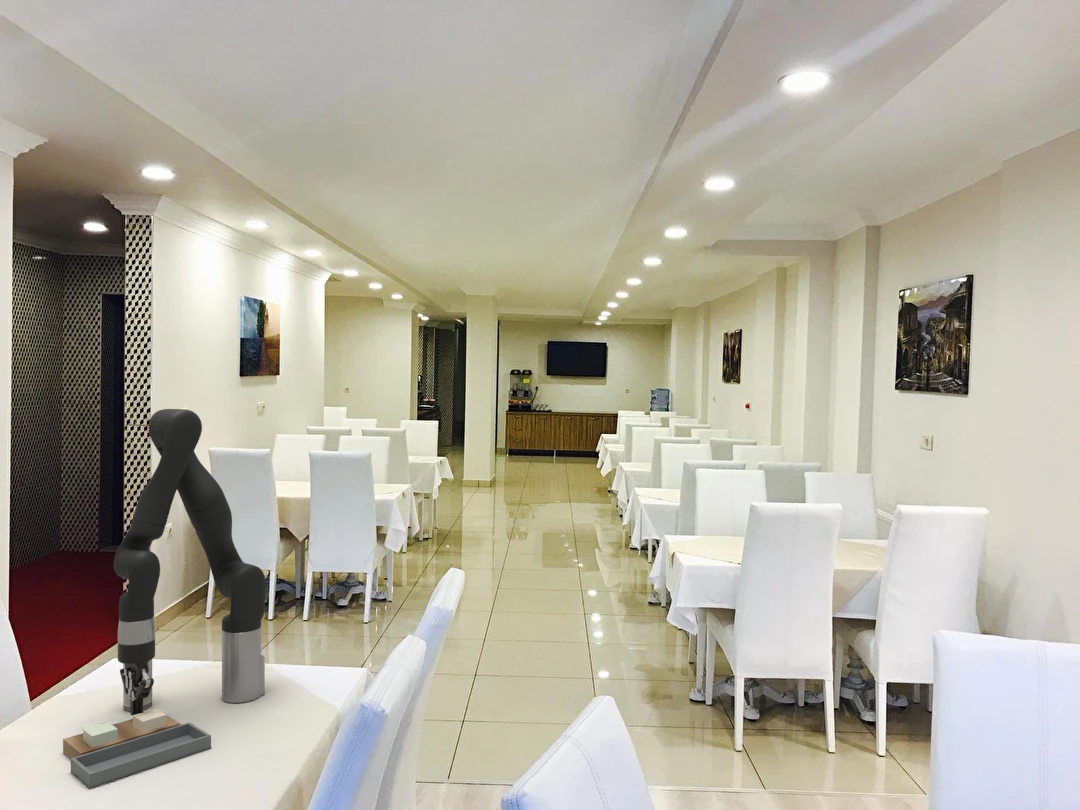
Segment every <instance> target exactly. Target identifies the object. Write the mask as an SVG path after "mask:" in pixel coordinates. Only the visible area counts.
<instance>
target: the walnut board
mask: <svg viewBox="0 0 1080 810" xmlns="http://www.w3.org/2000/svg"><path fill="white" fill-rule="evenodd" d="M112 725H113V726H115V727H116V728H117V729H118V740H117V741H113V742H110V743H107V744H104V745H100V746H97V747H94V748H92V747H90V746H89V745H88V744H87V743H85V742H84V741H83V732H82V733H79V734H77V735H73V736H68V737H65V738H63V739H62V753H63V755H64V756H65V757H67V758H68V759H69V760H71V758H74V757H77V756H80V755H84V754H87V753H90V752H94V751H97V750H100V749H103V748H107V747H110V746H113V745H117V744H120V743H123V742H126V741H130V740H133V739H136V738H140V737H143V736H146V735H149V734H153V733H156V732H159V731H163V730H166V729H169V728H172V727H176V726H179V725H180V723H179V722H178V721H177V720H175V719H173V718H171V716H168V715H166V726H163V727H160V728H157V729H153V730H150V731H147V732H143V733H142V732H141V731H139V730H138V729H136V728H135V727H133V718H131V719H127V720H124V721H122V722H117V723H114V724H112Z"/></svg>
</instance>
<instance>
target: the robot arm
mask: <svg viewBox="0 0 1080 810" xmlns="http://www.w3.org/2000/svg"><path fill="white" fill-rule="evenodd" d="M147 428H148V434H149V437H150V440H151V441H152V443H153V445H154V447H155V449H156V451H157V452H158V454H159V456H160V460H159V462H158V465H157V467H156V468H155V471H154V472H153V474H152V476H151V477H150V479H149V480H148V482H147V484H146V485H145V486H144V488H143V490H142V492H141V494H140V496H139V498H138V500H137V503H136V507H135V509H134V513H133V516H132V519H131V523H130V527H129V529H128V531H127V532H126V534H125V535H124V537H123V539H122V541H121V543H120V544H119V546H118V548H117V550H116V553H115V555H114V560H113V570H114V572H115V574H116V576H118V577H119V578H121V579H124V580H128V585H127V590H126V591H125V592H124V593H123V594H121V595H120V597H119V604H118V627H117V661H118V662H119V663H120V664H125V668H124V669H123V668H120V669H119V674H120V676H121V677H120V678H121V681H122V685H123V686H124V689H125V693H126V694H128V697H129V699H130V711H129V715H130V716H132V717H133V715H136V714H139V713H143V712H144V710H143V698H146V697H148V696H149V693H150V691H151V688H152V689H153V686H154V685H155V684H154V683H155V680H154V678H153V677H152V678H151V679H149V677H148V675H149V667H148V662H149V660H151V659H152V660H153V659H154V658H155V657H156V622H155V595H156V592H157V589H158V585H159V579H160V576H161V564H160V563H161V562H160V559H159V557H158V555H156V553H154V552H153V551H150V550H149V549H150V548H151V546H152V543H153V541H155V540H159V539H160V538H162V536H163V534H164V532H165V529H166V526H167V522H168V518H169V514H170V511H171V507H172V505H173V502H174V498H175V495H176V494H177V493H176V492H178V495H179V497H180V499H181V501H182V504H183V507H184V510H185V511H186V514H187V517H188V518H189V521H190V524H191V525H192V528H193V529H194V531H195V533H196V535H197V538H198V540H199V542H200V544H201V547H202V549H203V552H204V554H205V555H206V559H207V561H208V564H209V568H210V570H211V571H210V572H211V575H212V577H213V581H214V584H215V586H216V589H217V591H218V592H219V594H220V595H222V596H223V597H224V598H226V599H228V600H229V599H230V610H229V614H226V615H225V616H224V617H223V618H222V620H221V699H222V701H223V702H226V703H230V704H239V703H247V702H250V701H254V700H256V699H258V698H260V697H261V696H264V695H265V694H266V692H265V691H266V690H265V689H266V688H265V687H266V685H265V684H266V683H265V681H266V680H265V677H266V674H265V671H266V667H265V665H266V664H265V663H266V661H265V659H266V657H265V656H264V655H262V621H263V620H262V619H263V617H264V615H265V609H266V594H267V593H266V589H267V582H266V581H267V580H266V576H265V573H264V571H263V570H262V569H261V568H260V567H259V566H256V565H254V564H250V563H246V562H244V561H243V559H242V558H241V555H240V554H239V553H238V550H237V548H236V546H235V543H234V539H233V535H232V534H233V515H232V511H231V508H230V505H229V503H228V500H227V497H226V495H225V493H224V491H223V489H222V487H221V486H220V484H219V482H218V481H217V480H216V479H215V478H214V476H213V475H212V474H211V473H210V472H209V471H208V469H206V467H205V466H204V465H203V464H202V462H201V461H200V460H199V458H198V456H197V455H196V453H195V449H196V448H197V445H198V443H199V441H200V438H201V436H202V432H203V424H202V420H201V419H200V417H199V415H198V414H197V413H195V412H194V410H193V411H192V410H191V409H186V408H185V409H184V408H163V409H160V410H156V412H154V413H153V414H152V416H151V417H150V419H149V422H148V427H147Z"/></svg>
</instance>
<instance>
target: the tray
mask: <svg viewBox="0 0 1080 810" xmlns="http://www.w3.org/2000/svg"><path fill="white" fill-rule="evenodd" d="M210 748H211V749H212V735H211V734H210V733H209V732H207V731H205V730H203V729H201V728H199V726H196V725H195V724H193V723H191V722H190V721H189V722H186V723H183V724H179V726H176V727H172V728H169V729H166V730H163V731H159V732H156V733H153V734H149V735H146V736H143V737H140V738H136V739H133V740H130V741H126V742H123V743H120V744H117V745H113V746H110V747H107V748H103V749H100V750H97V751H94V752H90V753H87V754H84V755H80V756H77V757H74V758H71V759H70V773H71V774H72V775H73V776H74V777H76V778H77V780H78V781H80V782H81V783H82V784H83V785H84V786H86V788H88V789H89V790H91V789H94V788H97V787H101V786H103V785H106V784H108V783H109V784H110V783H112V782H114V781H117V780H118V781H119V780H121V779H123V778H124V779H125V778H126V777H129V776H132V775H136V774H138V773H142V772H145V771H147V770H151V769H153V768H157V767H159V766H162V765H165V764H169V763H173V762H174V761H177V760H180V759H183V758H186V757H189V756H192V755H195V754H198V753H201V752H204V751H207V750H210Z"/></svg>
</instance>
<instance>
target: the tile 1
mask: <svg viewBox="0 0 1080 810" xmlns="http://www.w3.org/2000/svg"><path fill="white" fill-rule="evenodd" d="M113 725H114V724H112V723H111V722H109V721H107V722H105V723H99V724H97V725H93V726H90V727H87V728H83V729H82V733H83V741H84V742H85V743H87V744H88V745H89V746H90V747H92V748H94V747H97V746H100V745H104V744H107V743H110V742H113V741H117V740H118V729H117V728H116V727H115V726H113Z"/></svg>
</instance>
